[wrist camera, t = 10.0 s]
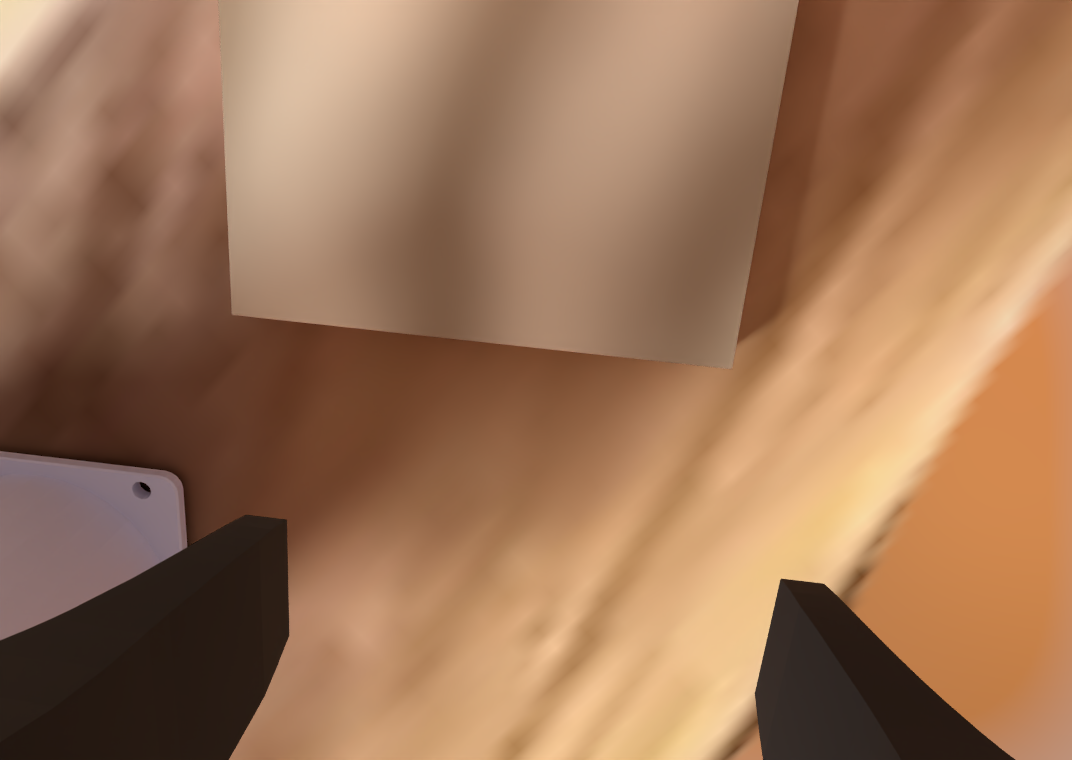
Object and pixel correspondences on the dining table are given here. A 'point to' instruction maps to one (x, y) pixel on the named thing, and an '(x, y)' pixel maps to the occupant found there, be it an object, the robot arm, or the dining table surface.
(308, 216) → the thin beige base plate
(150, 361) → the dining table surface
